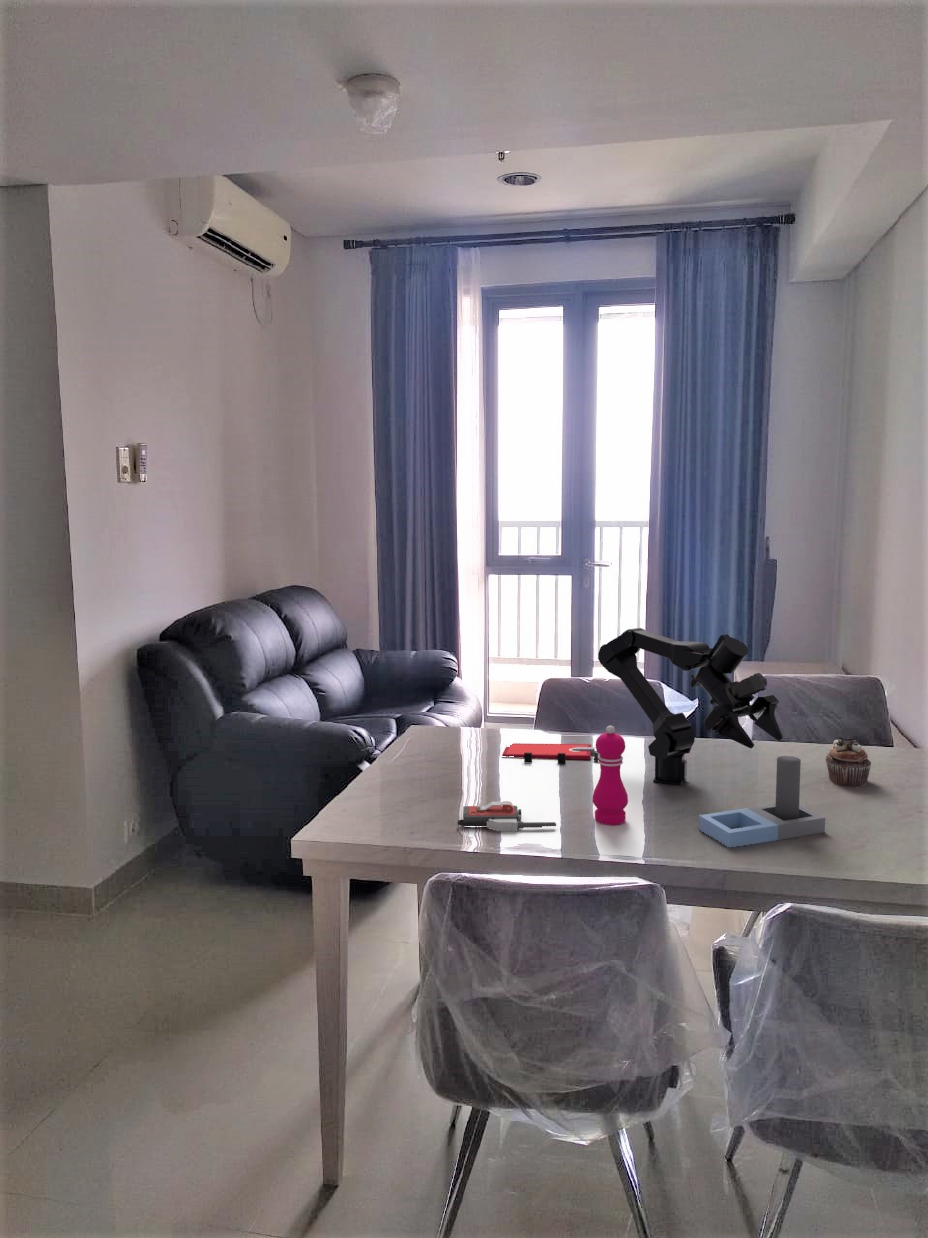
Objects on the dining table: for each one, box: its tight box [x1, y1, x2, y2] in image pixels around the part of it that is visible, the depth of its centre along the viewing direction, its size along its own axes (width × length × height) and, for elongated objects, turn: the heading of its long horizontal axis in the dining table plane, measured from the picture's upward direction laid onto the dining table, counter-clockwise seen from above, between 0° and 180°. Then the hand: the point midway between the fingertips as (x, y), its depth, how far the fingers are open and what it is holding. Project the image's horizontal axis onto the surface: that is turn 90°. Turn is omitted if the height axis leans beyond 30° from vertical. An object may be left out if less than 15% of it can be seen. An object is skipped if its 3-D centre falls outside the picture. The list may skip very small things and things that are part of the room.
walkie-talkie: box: [456, 800, 557, 832], centre depth 178 cm, size 9×4×20 cm
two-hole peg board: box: [698, 803, 826, 849], centre depth 172 cm, size 22×10×3 cm, turn 108°
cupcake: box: [825, 737, 872, 788], centre depth 200 cm, size 10×10×10 cm
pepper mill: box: [592, 725, 629, 826], centre depth 178 cm, size 7×7×20 cm
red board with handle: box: [502, 742, 600, 765], centre depth 225 cm, size 30×3×15 cm
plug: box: [775, 755, 802, 821], centre depth 173 cm, size 4×4×14 cm
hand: (767, 743), depth 180 cm, fingers open, 9 cm apart
